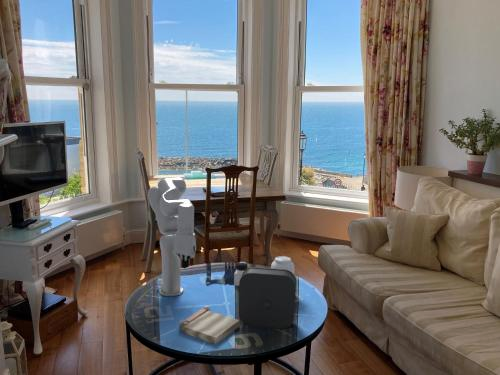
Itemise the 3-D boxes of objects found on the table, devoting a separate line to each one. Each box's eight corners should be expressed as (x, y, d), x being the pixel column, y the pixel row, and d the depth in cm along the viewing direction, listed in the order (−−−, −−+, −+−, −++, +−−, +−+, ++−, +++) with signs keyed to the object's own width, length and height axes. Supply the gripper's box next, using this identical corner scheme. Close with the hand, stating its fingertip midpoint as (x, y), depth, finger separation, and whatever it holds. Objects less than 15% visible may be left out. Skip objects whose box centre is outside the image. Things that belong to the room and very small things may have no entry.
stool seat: (177, 330, 191) (177, 323, 191) (202, 314, 207) (202, 307, 206) (215, 344, 181) (215, 336, 180) (239, 326, 196) (239, 319, 196)
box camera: (246, 286, 240) (247, 266, 238) (233, 285, 242) (234, 264, 239) (249, 281, 247) (249, 261, 245) (236, 280, 248) (237, 260, 246)
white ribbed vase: (298, 294, 232) (299, 258, 229) (283, 301, 223) (285, 264, 219) (279, 287, 240) (280, 252, 237) (265, 294, 231) (266, 258, 228)
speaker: (294, 321, 202) (296, 270, 197) (293, 331, 193) (295, 277, 189) (240, 317, 205) (241, 266, 201) (237, 326, 197) (238, 273, 192)
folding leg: (205, 311, 209) (205, 305, 208) (210, 313, 208) (210, 306, 207) (184, 326, 195) (184, 318, 194) (189, 327, 194) (189, 320, 193)
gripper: (167, 229, 204) (167, 266, 207) (193, 235, 196) (192, 273, 200) (178, 225, 210) (178, 261, 214) (203, 231, 202) (202, 268, 206)
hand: (185, 267), depth 207 cm, fingers closed
